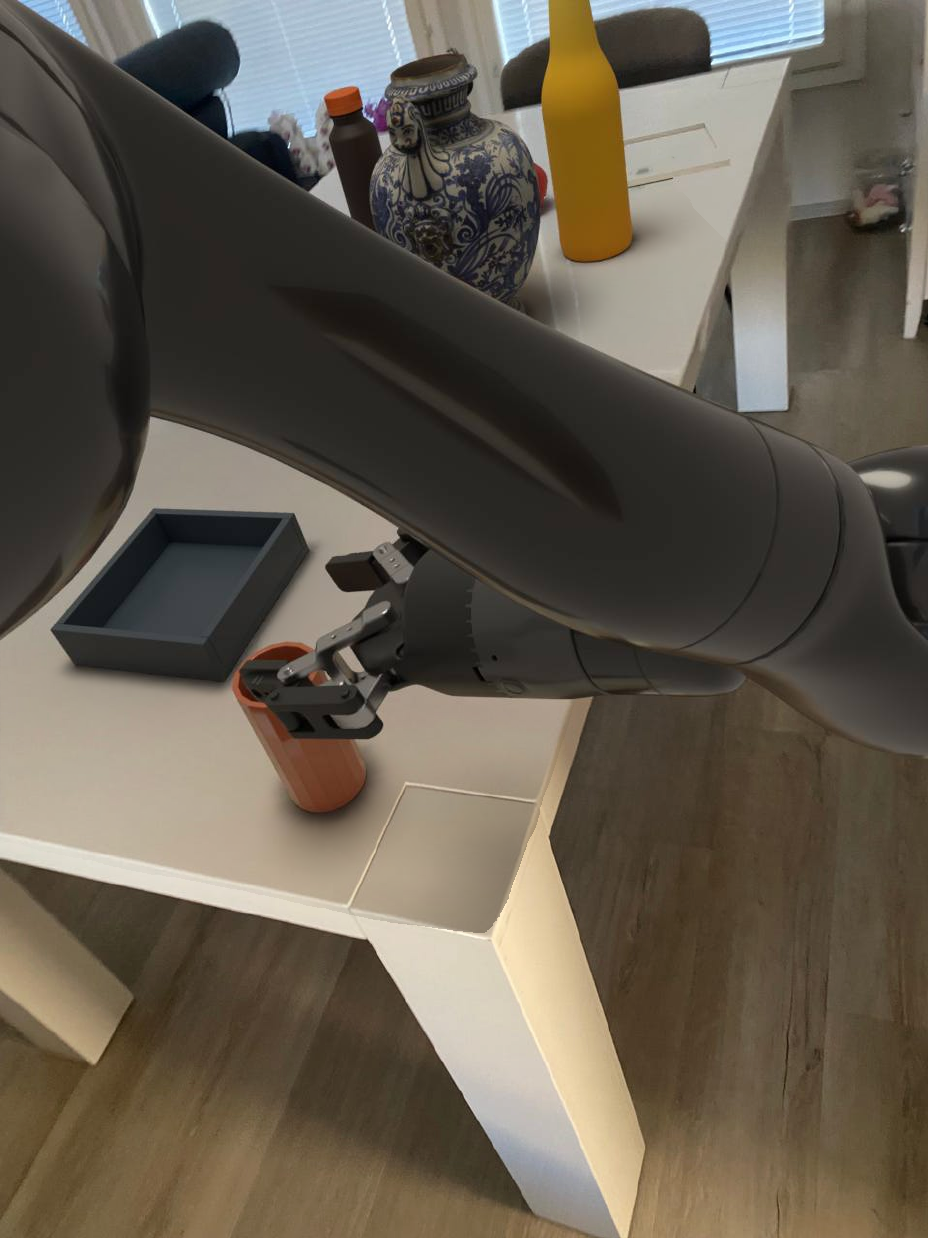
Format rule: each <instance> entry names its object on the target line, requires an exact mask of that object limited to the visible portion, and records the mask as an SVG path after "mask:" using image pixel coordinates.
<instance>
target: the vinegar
mask: <svg viewBox="0 0 928 1238" xmlns="http://www.w3.org/2000/svg"><path fill="white" fill-rule="evenodd" d="M323 101H324V104H325V107H326V111H327V114H328V115H329V119H330V120H332V123H333V126H332V128H331V130H330V133H329V135H328V142H329V146H330V149H331V153H332V156H333V160H334V163H335V166H336V171H337V174H338V177H339V180H340V184H341V188H342V192H343V194H344V197H345V202H346V205H347V209H348V211H349V216H350V217H351V218H352V219H354V220H356V221H357V222H359V223H361V224H363V225H364V226H366V227H368V228H369V229H371V230H373V231H375V232H376V233H377V231H376V228H375V224H374V221H373V216H372V212H371V206H370V196H369V189H370V181H371V176H372V173H373V170H374V168H375V165H376V163H377V162H378V160H379V159H380V157H381V156H382V155H383V153H384V152H383V149H382V146H381V141H380V138H379V134H378V129H377V127H376V125H375V123H374V122H372V121H371V120H370V119H368V118H367V117H365V116H364V112H363V110H364V106H363V105H364V103H363V99H362V96H361V91H360V88H359V87H358V86H355V85H354V86H353V85H350V86H344V87H341V88H338V89H337V88H336V89H334V90H331V91H330V92H328V93H326V94H325V95H324V96H323Z"/></svg>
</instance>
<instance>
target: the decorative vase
mask: <svg viewBox="0 0 928 1238" xmlns="http://www.w3.org/2000/svg"><path fill="white" fill-rule="evenodd" d="M478 75H479V73H478V70H477V68H476V66H474V65H473V64H471V63H468V60H467V57H466V56H465V54H464V53H460V52H459V50H458V49H457V48H456V47H453V46H452V47H451V46H450V47H448V48H447V49H446V51H445V53H443V54H436V55H432V56H426V57H422V58H420V59H417V60H413V61H410V62H408V63H405V64H403V65H401V66H399V67H397V68H396V69H395V70H393V71H392V72H391V73H390V76H389V77H390V83H389V84H388V85H387V86H386V87H385V89H384V94H383V95H384V98H385V99H386V100H387V101H390V102H392V105H391V107H390V108H386V111H385V123H386V129H387V133H388V136H389V137H388V138H389V141H390V144H389V145H388V146H387V148H386V149H385V151H384V152H382V153H383V155H382V156H381V157H380V159H379V160H378V162H377V163H376V165H375V168H374V170H373V173H372V176H371V181H370V189H369V196H370V206H371V212H372V216H373V221H374V224H375V228H376V231H377V233H378V234H380V235H381V236H383V237H385V238H387V239H388V240H390V241H392V242H394V243H395V244H397V245H399V246H401V247H402V248H404V249H406V250H408V251H409V252H411V253H413V254H415V255H416V256H418V257H420V258H422V259H423V260H425V261H427V262H429V263H430V264H432V265H434V266H436V267H438V268H439V269H441V270H443V271H445V272H447V273H448V274H450V275H452V276H454V277H456V278H458V279H459V280H461V281H463V282H465V283H467V284H469V285H470V286H472V287H474V288H476V289H478V290H479V291H481V292H483V293H485V294H487V295H489V296H491V297H493V298H495V299H496V300H498V301H500V302H502V303H504V304H506V305H508V306H510V307H512V308H514V309H516V310H518V311H520V312H522V313H524V314H526V309H525V308H526V307H525V305H524V303H523V302H522V301H521V300H520V299H519V298H517V297H515V296H516V295H517V293H518V292H519V291H520V289H521V288H522V287H523V285H524V284H525V282H526V280H527V278H528V276H529V273H530V271H531V268H532V266H533V262H534V259H535V255H536V252H537V246H538V241H539V234H540V229H541V214H542V213H541V212H542V211H541V210H542V208H541V204H540V192H539V184H538V178H537V173H536V169H535V165H534V163H535V162H534V159H533V156H532V154H531V151H530V149H529V147H528V145H527V144H526V142H525V141H524V139H523V138H522V137H521V136H520V134H518V133H517V132H516V131H515V130H514V129H513V128H512V127H511V126H509V125H507V124H506V123H504V122H501V121H498V120H495V119H490V118H484V117H480V116H479V115H478V114H476V113H474V112H472V111H471V109H472V103H471V101H470V100H469V99H468V97H469V96H470V95H471V93H472V91H473V89H474V81H475V79H477V77H478Z"/></svg>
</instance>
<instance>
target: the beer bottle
mask: <svg viewBox="0 0 928 1238" xmlns="http://www.w3.org/2000/svg"><path fill="white" fill-rule="evenodd" d="M547 1H548V3H547V4H548V27H549V28H548V29H549V30H548V31H549V57H548V63H547V67H546V70H545V73H544V78H543V83H542V88H541V98H540V99H541V115H542V122H543V128H544V135H545V141H546V149H547V157H548V163H549V170H550V177H551V184H552V191H553V198H554V205H555V206H554V207H555V211H556V220H557V226H558V236H559V244H560V248H561V250H562V253H563V255H564V256H565V257H566V258H568V259H569V260H571V261H575V262H582V263H583V262H584V263H585V262H586V263H588V262H597V261H602V260H607V259H610V258H612V257H615V256H617V255H619V254H621V253H622V252H624V251H625V250H627V249H628V248H629V246H630V245H631V243H632V241H633V222H632V215H631V207H630V196H629V187H628V183H627V172H626V167H627V164H626V163H627V162H626V153H625V151H626V150H625V146H624V140H623V139H624V131H623V119H622V109H621V106H622V105H621V94H620V89H619V85H618V80H617V78H616V77H617V76H616V74H615V72H614V70H613V68H612V66H611V64H610V63H609V60H608V59H607V57H606V55H605V54H604V52H603V50H602V48H601V46H600V43H599V40H598V35H597V31H596V27H595V26H596V25H595V22H594V17H593V11H592V5H591V1H590V0H547Z"/></svg>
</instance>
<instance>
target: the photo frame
mask: <svg viewBox="0 0 928 1238" xmlns="http://www.w3.org/2000/svg"><path fill="white" fill-rule="evenodd" d="M703 130H704V131H705V133H706V135H707V137H708V139H709V140H710V142H711V143H712V145H713V147H714V148H718V146H717V145H716V143H715V141H714V140H713V138H712V136H711V134H710V133H709V131H708V129H707V127H706V126H705V123H700V124H696V125H691V126H686V127H682V128H677V129H673V130H668V131H664V132H659V133H655V134H650V135H645V136H641V137H636V138H632V139H627V140H624V147H628V146H629V147H630V146H633V145H637V144H642V143H646V142H652V141H657V140H662V139H664V138H669V137H670V138H671V137H674V136H679V135H683V134H684V135H685V134H688V133H693V132H698V131H703ZM729 166H731V158H730V159H728V160H724V161H719V162H714V163H710V164H705V165H700V166H695V167H691V168H686V169H681V170H677V171H672V172H667V173H663V174H658V175H653V176H648V177H644V178H639V179H634V180H630V181H627V183H628V188H631V187H634V186H640V185H644V184H648V183H654V182H658V181H664V180H668V179H672V178H676V177H677V178H678V177H682V176H687V175H691V174H697V173H701V172H706V171H710V170H714V169H720V168H724V167H729Z"/></svg>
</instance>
